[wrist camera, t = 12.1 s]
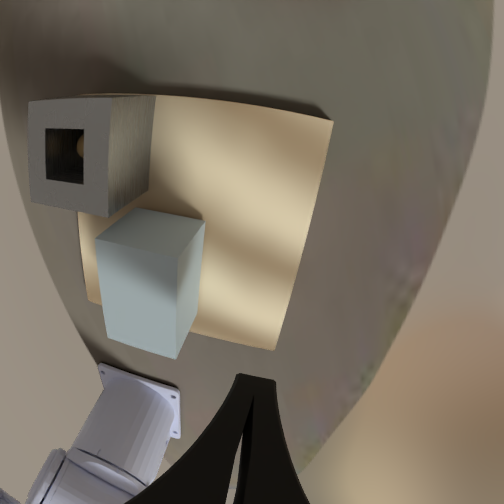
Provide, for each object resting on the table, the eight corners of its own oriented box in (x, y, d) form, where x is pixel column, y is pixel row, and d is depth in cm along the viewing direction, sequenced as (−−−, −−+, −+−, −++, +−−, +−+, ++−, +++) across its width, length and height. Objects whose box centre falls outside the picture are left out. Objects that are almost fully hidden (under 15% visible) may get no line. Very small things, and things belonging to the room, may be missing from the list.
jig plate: (275, 340, 20) (270, 381, 17) (95, 293, 21) (69, 322, 18) (331, 120, 14) (340, 125, 11) (88, 93, 15) (47, 97, 11)
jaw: (148, 190, 16) (108, 217, 12) (76, 179, 16) (31, 201, 12) (156, 95, 13) (112, 97, 10) (78, 95, 14) (28, 101, 10)
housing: (197, 312, 19) (175, 359, 15) (137, 296, 19) (107, 337, 15) (205, 220, 16) (178, 258, 12) (135, 207, 16) (94, 238, 12)
